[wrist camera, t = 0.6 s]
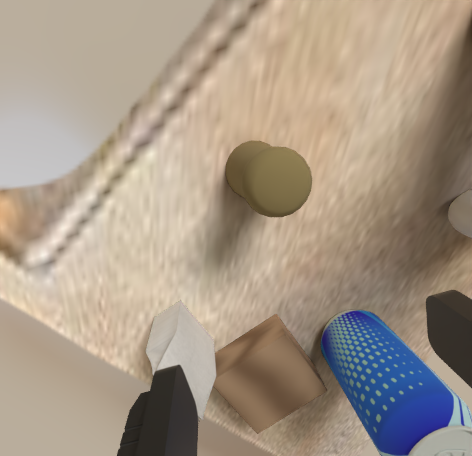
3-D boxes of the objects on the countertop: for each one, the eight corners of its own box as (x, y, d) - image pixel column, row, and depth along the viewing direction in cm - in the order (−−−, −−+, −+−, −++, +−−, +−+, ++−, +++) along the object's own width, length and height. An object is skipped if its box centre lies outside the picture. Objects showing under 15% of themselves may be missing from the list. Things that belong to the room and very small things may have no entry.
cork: (284, 195, 32) (326, 221, 21) (229, 203, 31) (244, 233, 21) (280, 137, 30) (323, 134, 20) (221, 144, 30) (233, 146, 19)
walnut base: (276, 313, 36) (285, 334, 32) (314, 366, 39) (327, 390, 35) (208, 357, 37) (209, 382, 33) (251, 405, 40) (257, 433, 36)
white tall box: (180, 299, 34) (172, 361, 24) (213, 339, 36) (218, 410, 26) (154, 316, 34) (137, 384, 25) (189, 355, 36) (185, 431, 27)
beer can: (340, 371, 40) (428, 514, 24) (303, 334, 37) (375, 468, 22) (390, 331, 39) (513, 455, 24) (355, 291, 36) (467, 400, 21)
